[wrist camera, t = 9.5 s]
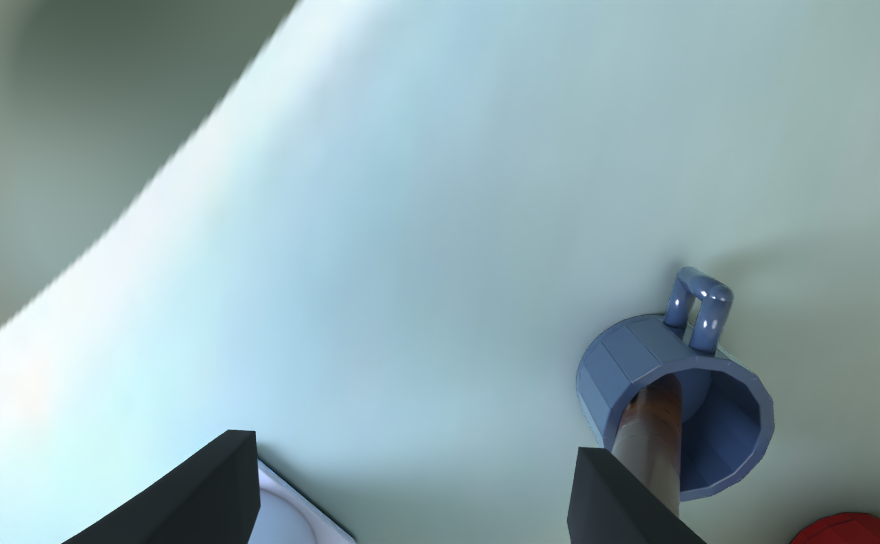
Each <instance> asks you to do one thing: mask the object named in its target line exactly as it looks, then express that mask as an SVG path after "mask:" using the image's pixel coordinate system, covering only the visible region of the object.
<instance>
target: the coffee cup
mask: <svg viewBox="0 0 880 544" xmlns="http://www.w3.org/2000/svg"><path fill="white" fill-rule="evenodd" d="M696 297H697V298H698V299H700V300H701V301H702V304H701V307H700V310H699V313H698V317H697V320H696V323H695V326H693V325H691V324H690V323H688V321H689V318H690V315H691V312H692V309H693V305H694V302H695V299H696ZM733 300H734V295H733V292H732V290H731V289H730V288H729V287H728V286H726V285H724V284H722V283H721V282H719V281H717V280H715V279H714V278H712V277H710V276H708V275H707V274H705V273H703V272H701V271H700V270H698V269H696V268H694V267H690V266H687V267H683V268H682V269H680V270H679V271H678V273H677V275H676V278H675V282H674V285H673V289H672V292H671V295H670V299H669V302H668V306H667V309H666V312H665V315H656V314H655V315H642V316H637V317H633V318H630V319H626V320H624V321H622V322H619V323H617V324H615V325H614V326H612V327H610V328H608V329H607V330H606V331H604V332H603V333H602V334H601V335H600V336H598V337H597V338H596V339H595V340H594V341H593V343H592V344H591V345H590V346H589V348H588V349H587V351H586V352H585V354H584V356H583V358H582V360H581V362H580V365H579V368H578V372H577V378H576V389H577V396H578V399H579V402H580V404H581V407H582V411H583V414H584V416H585V418H586V420H587V422H588V424H589V426H590V428H591V430H592V432H593V434H594V436H595V438H596V441H597V443H598V445H599V447H600V448H606V449H607V450H608V451H610V452H612V448H613V445H614V442H615V438H616V435H617V431H618V428H619V425H620V421H621V418H622V414H623V411H624V409H625V408H626V407H627V406H628V404H629V403H630V402H631V401H632V399H633V398H634V397H635V396H636V394H637V393H638V392H639V391H640V390H641V389H643V388H644V387H646V386H647V385H649V384H651V383H652V382H654V381H656V380H657V379H659V378H661V377H662V376H664V375H666V374H670V373H673V374H674V375H675V376H676V377H677V378H678V380H679V381H680V383H681V385H682V389H683V401H682V434H681V467H680V500H679V502H684V501H690V500H695V499H700V498H705V497H710V496H713V495H715V494H717V493H719V492H721V491H722V490H724V489H726V488H728V487H730V486H732V485H733V484H735V483H737V482H739V481H741V479H743V478H744V477H745V476H746V475H747V474H748V473H749V472H750V471H751V470H752V469H753V468H754V466H755V465H756V464H757V463H758V462H759V461H760V460H761V459H762V458H763V456H764V455H765V452H766V450H767V447H768V445H769V442H770V440H771V437H772V435H773V432H774V428H775V424H774V410H773V401H772V398H771V396H770V395H769V393H768V391H767V390H766V388H765V387H764V385H763V384H762V382H761V380H760V379H759V377H758V376H757V375H756V374H755V373H753V372H752V371H751V370H750V369H748V368H747V367H746V366H745V365H744V364H742V363H741V362H740V361H739V360H737V359H736V358H735V357H734V356H732V355H731V354H730V353H729V352H727V351H726V350H725V349H724V348H722V347H721V346H720V345H719V341H720V338H721V335H722V332H723V329H724V326H725V324H726V321H727V318H728V315H729V312H730V309H731V306H732V303H733Z"/></svg>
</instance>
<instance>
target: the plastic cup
mask: <svg viewBox="0 0 880 544" xmlns="http://www.w3.org/2000/svg"><path fill="white" fill-rule="evenodd" d="M791 544H880V519H879V518H877V517H874V516H872V515H869V514H867V513H841V514H837V515H834V516H830V517H826V518H823V519H820V520H818V521H817V522H815V523H814V524H812V525H810V526H809V527H807V528H805V529H804V530H802V531H801V532H800V533H799V534H798V535H797V537H796V538H795V539H794V540H793V541H792V543H791Z"/></svg>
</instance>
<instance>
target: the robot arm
mask: <svg viewBox="0 0 880 544" xmlns="http://www.w3.org/2000/svg"><path fill="white" fill-rule="evenodd" d="M567 524H568V529H569V534H570V539H571V544H707V543H706V542H704V541H703V540H702V539H701V538H700V537H699V536H697V535H696V534H695V533H694V532H693V531H692V530H691V529H690V528H689V527H687V526H686V525H685V524H684V523H683V522H682V521H681V520H680V519H679V518H678V517H676V516H675V515H674V514H673V513H672V512H671V511H670V510H669V509H668V508H667V507H666V506H665V505H664V504H663V503H662V502H661V501H660V500H659V499H657V498H656V497H655V496H654V495H653V494H652V493H651V492H650V491H649V490H648V489H647V488H646V487H645V486H644V485H643V484H642V483H641V482H640V481H639V480H638V479H637V478H636V477H635V476H634V475H633V474H632V473H631V472H630V471H629V470H628V469H627V468H626V467H625V466H624V465H623V464H622V463H621V462H620V461H619V460H618V459H617V458H616V457H615V456H614V455H613V454H612V453H611V452H610V451H608V450H607V449H606V448H588V447H579V449H578V455H577V461H576V468H575V474H574V480H573V486H572V493H571V499H570V505H569V511H568V517H567ZM62 544H356V542H355V540H354V539H353V538H352V537H351V536H349V535H348V534H347V533H346V532H345V531H343V530H342V529H341V528H340V527H339V526H337V525H336V524H335V523H334V522H333V521H331V520H330V519H329V518H328V517H327V516H325V515H324V514H323V513H322V512H321V511H319V510H318V509H317V508H316V507H315V506H313V505H312V504H311V503H310V502H309V501H308V500H306V499H305V498H304V497H303V496H302V495H300V494H299V493H298V492H297V491H296V490H294V489H293V488H292V487H291V486H290V485H288V484H287V483H286V482H285V481H284V480H282V479H281V478H280V477H279V476H278V475H276V474H275V473H274V472H273V471H272V470H270V469H269V468H268V467H267V466H266V465H264V464H263V463H262V462H261V461H260V460H258V459H257V445H256V432H255V431H244V430H227V431H226V432H224V433H223V434H221V435H220V436H218V437H217V438H215V439H214V440H213V441H211V442H210V443H208V444H207V445H206V446H204V447H203V448H202V449H200V450H199V451H198V452H196V453H195V454H194V455H192V456H191V457H189V458H188V459H187V460H185V461H184V462H183V463H181V464H180V465H179V466H177V467H176V468H174V469H173V470H172V471H170V472H169V473H167V474H166V475H165V476H163V477H162V478H161V479H159V480H158V481H156V482H155V483H154V484H152V485H151V486H149V487H148V488H147V489H145V490H144V491H142V492H141V493H139V494H138V495H136V496H135V497H133V498H132V499H130V500H129V501H127V502H126V503H124V504H123V505H121V506H120V507H118V508H117V509H115V510H114V511H112V512H111V513H109V514H108V515H106V516H105V517H103V518H102V519H100V520H99V521H97V522H96V523H94V524H93V525H91V526H90V527H88V528H86V529H85V530H83V531H82V532H80V533H78V534H77V535H75V536H73V537H72V538H70V539H68V540H67V541H65V542H63V543H62Z"/></svg>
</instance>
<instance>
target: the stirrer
mask: <svg viewBox="0 0 880 544" xmlns="http://www.w3.org/2000/svg"><path fill="white" fill-rule="evenodd" d="M682 401H683V389H682V385H681V383H680V381H679V380H678V378H677V377H676V376H675V375H674V374H673V373H670V374H666V375H664V376H662V377H661V378H659V379H657V380H656V381H654V382H652V383H651V384H649V385H647V386H646V387H644V388H643V389H641V390H640V391H639V392H638V393H637V394H636V396H635V397H634V398H633V399H632V401H631V402H630V403H629V404H628V406H627V407H626V408H625V409H624V411H623V414H622V418H621V421H620V425H619V428H618V431H617V435H616V438H615V442H614V445H613V448H612V452H611V453H612V454H613V455H614V456H615V457H616V458H617V459H618V460H619V461H620V462H621V463H622V464H623V465H624V466H625V467H626V468H627V469H628V470H629V471H630V472H631V473H632V474H633V475H634V476H635V477H636V478H637V479H638V480H639V481H640V482H641V483H642V484H643V485H644V486H645V487H646V488H647V489H648V490H649V491H650V492H651V493H652V494H653V495H654V496H655V497H656V498H657V499H659V500H660V501H661V502H662V503H663V504H664V505H665V506H666V507H667V508H668V509H669V510H670V511H671V512H672V513H673V514H674V515H675V516H676V517H678V518H679V500H680V467H681V434H682Z"/></svg>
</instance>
